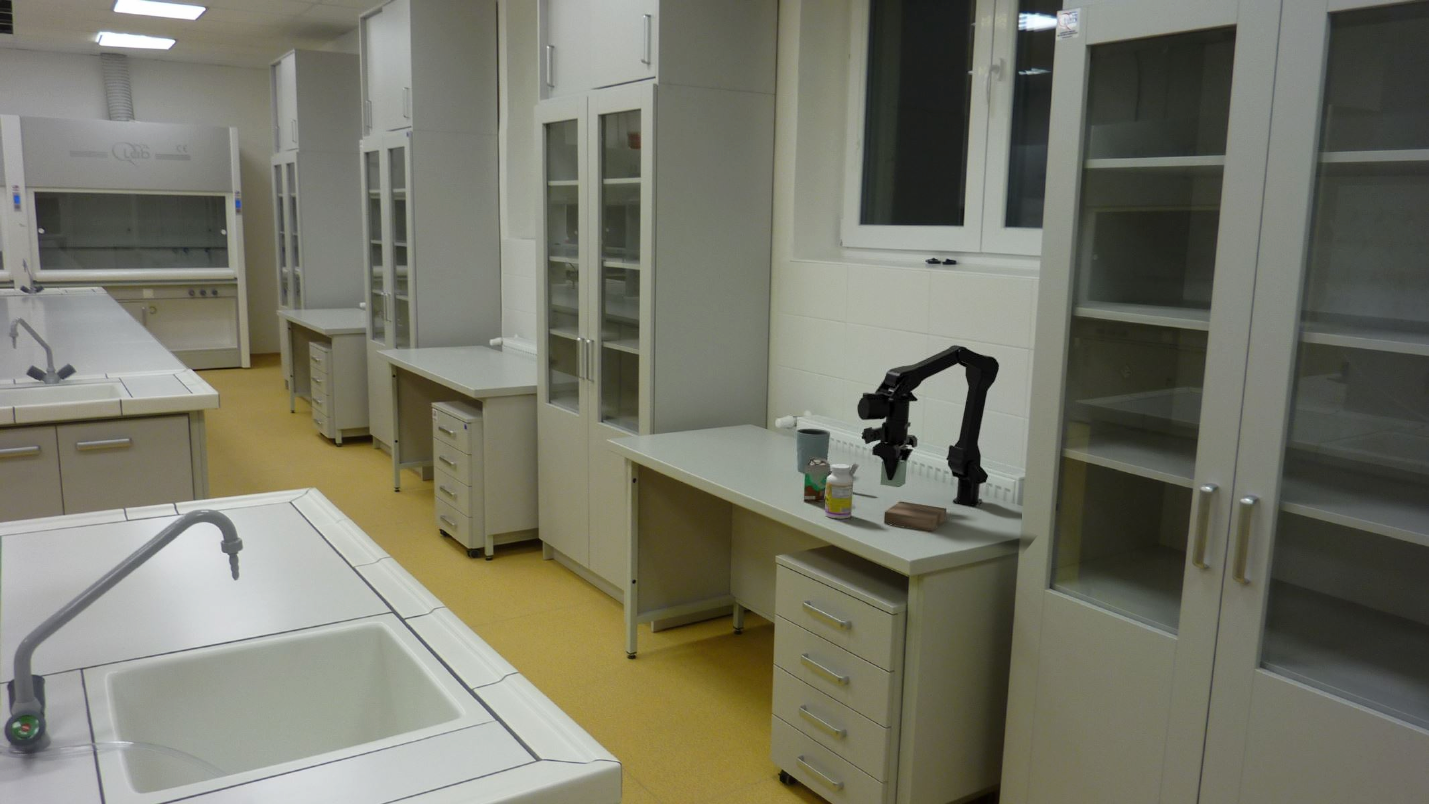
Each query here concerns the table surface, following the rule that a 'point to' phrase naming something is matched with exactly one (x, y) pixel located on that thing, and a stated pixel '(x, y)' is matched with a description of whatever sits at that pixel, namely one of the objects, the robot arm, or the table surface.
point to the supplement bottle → (839, 492)
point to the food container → (815, 479)
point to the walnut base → (915, 516)
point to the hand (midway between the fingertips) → (893, 478)
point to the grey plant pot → (811, 446)
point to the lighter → (853, 469)
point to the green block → (898, 477)
